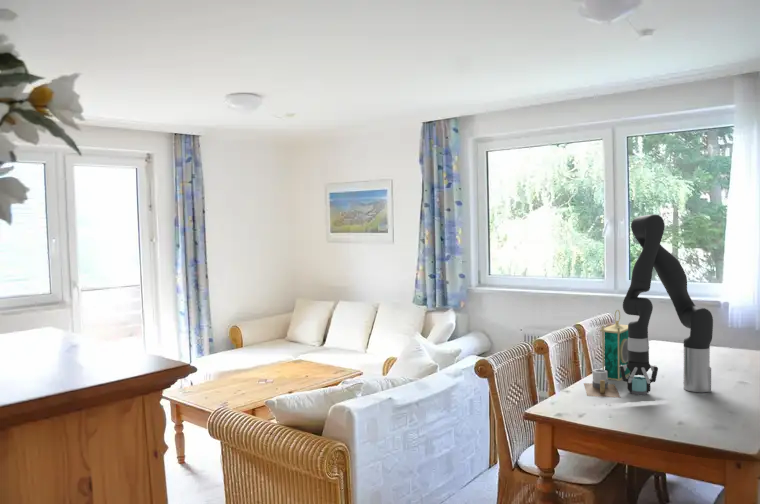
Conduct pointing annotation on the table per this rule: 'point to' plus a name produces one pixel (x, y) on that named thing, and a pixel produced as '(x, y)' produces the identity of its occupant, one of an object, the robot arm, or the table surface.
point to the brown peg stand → (601, 390)
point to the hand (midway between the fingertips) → (638, 392)
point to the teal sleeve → (639, 385)
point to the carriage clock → (615, 349)
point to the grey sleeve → (599, 378)
